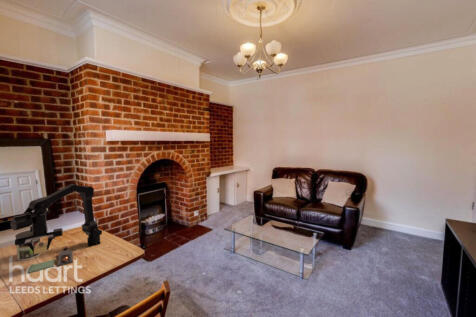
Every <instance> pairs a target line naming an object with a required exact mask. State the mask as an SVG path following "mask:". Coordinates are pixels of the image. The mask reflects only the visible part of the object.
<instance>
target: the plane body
mask: <svg viewBox="0 0 476 317" xmlns="http://www.w3.org/2000/svg"><path fill="white" fill-rule="evenodd" d="M57 256H58V258H57V259H58V260H57V267H62V266H66V265H69V264H70V265H71V264H73V263H74V259H73V258H74V257H73V256H74V255H73V250H72V249H71V250H70V249H68V245H65V246H63V247H62V250H61V251H60V252H59V253H58V255H57Z"/></svg>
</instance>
